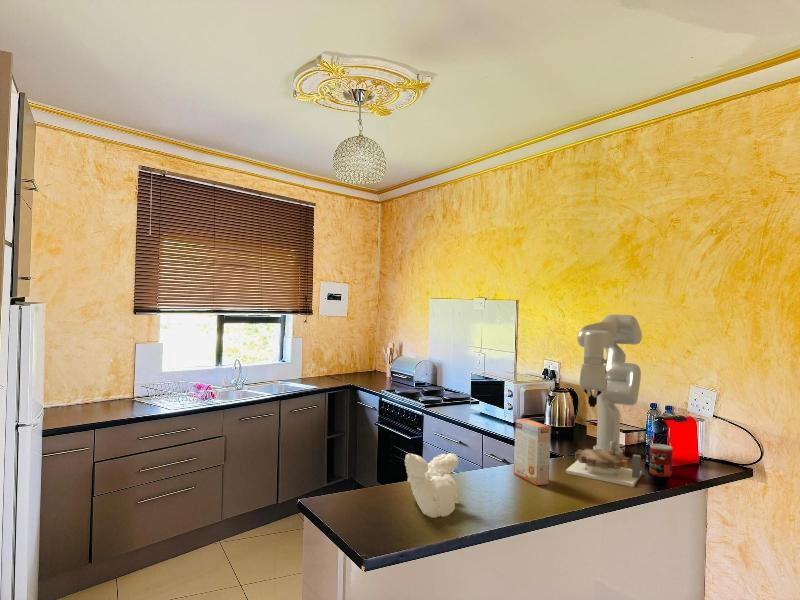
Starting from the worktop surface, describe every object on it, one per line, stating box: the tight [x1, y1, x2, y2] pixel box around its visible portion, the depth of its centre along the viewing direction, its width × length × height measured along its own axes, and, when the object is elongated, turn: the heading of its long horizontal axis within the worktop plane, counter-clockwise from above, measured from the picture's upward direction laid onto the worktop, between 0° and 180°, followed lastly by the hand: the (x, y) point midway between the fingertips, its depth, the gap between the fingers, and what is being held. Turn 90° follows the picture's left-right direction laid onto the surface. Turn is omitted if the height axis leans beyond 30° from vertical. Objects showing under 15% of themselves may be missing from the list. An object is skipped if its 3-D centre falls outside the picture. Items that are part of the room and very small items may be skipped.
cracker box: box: [513, 418, 552, 486], centre depth 185 cm, size 14×6×21 cm, turn 22°
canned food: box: [648, 443, 674, 478], centre depth 198 cm, size 8×8×11 cm
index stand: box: [565, 453, 643, 488], centre depth 195 cm, size 19×25×9 cm
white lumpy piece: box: [404, 452, 460, 519], centre depth 156 cm, size 19×20×20 cm
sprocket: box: [574, 441, 630, 469], centre depth 196 cm, size 19×19×7 cm
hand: (592, 406), depth 206 cm, fingers closed
